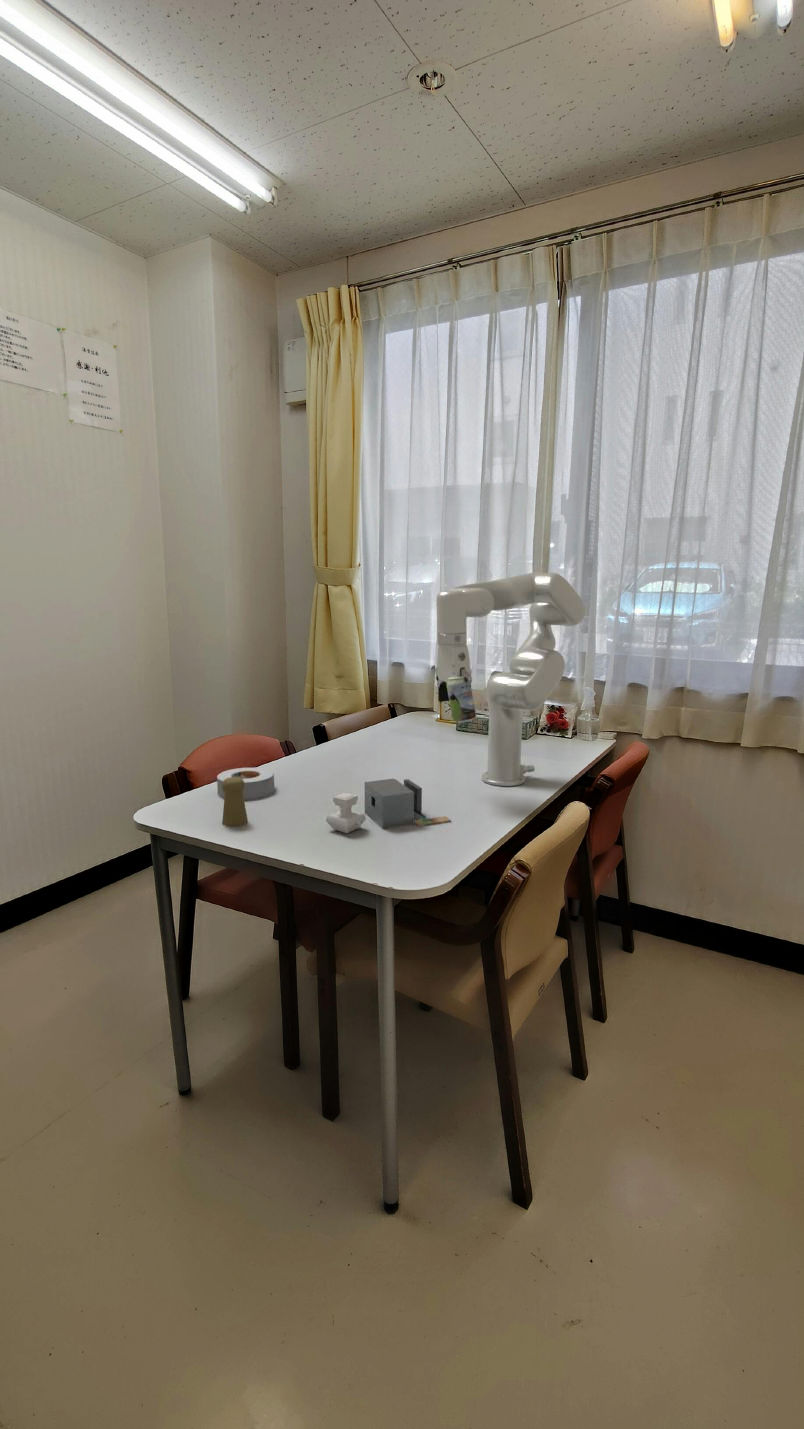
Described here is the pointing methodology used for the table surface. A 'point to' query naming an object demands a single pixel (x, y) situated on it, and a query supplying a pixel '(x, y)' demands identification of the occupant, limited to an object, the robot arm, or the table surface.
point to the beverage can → (460, 700)
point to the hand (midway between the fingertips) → (453, 704)
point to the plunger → (415, 796)
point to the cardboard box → (432, 821)
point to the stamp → (345, 814)
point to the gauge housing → (389, 803)
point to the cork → (234, 802)
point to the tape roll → (250, 782)
